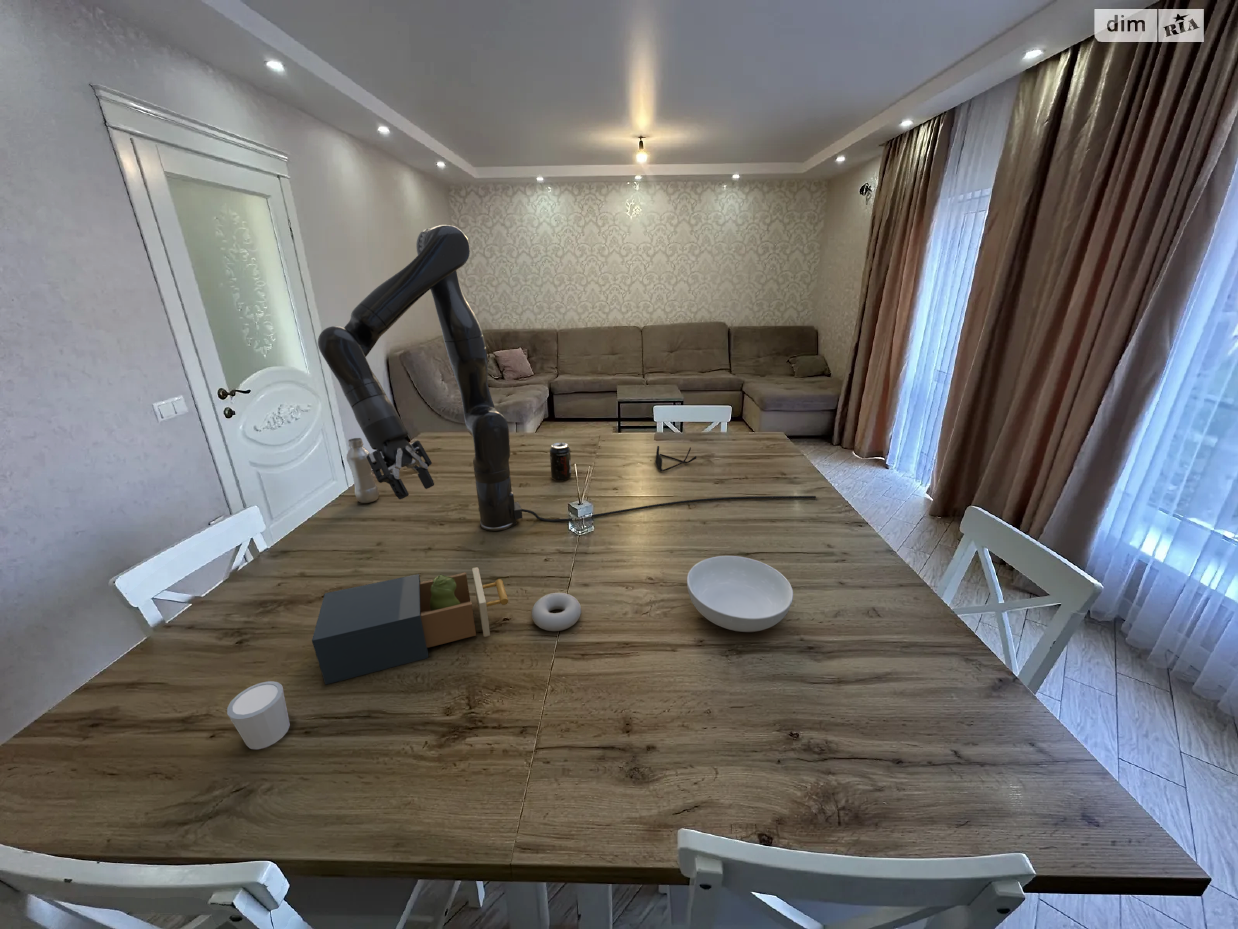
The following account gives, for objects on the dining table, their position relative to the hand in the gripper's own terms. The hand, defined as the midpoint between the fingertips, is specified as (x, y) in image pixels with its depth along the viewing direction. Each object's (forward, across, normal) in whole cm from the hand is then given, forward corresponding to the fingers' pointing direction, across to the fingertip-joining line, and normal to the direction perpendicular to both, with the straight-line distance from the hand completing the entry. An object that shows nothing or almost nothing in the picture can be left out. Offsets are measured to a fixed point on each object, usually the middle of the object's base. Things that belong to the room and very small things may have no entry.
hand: (417, 492), depth 100 cm
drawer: (+27, -7, +1) cm, 28 cm away
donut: (+36, 0, -15) cm, 39 cm away
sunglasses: (+29, +88, -34) cm, 99 cm away
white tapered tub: (+24, -35, +17) cm, 46 cm away
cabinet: (+23, -15, +12) cm, 30 cm away
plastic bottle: (-7, +38, +48) cm, 61 cm away
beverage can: (+14, +67, 0) cm, 68 cm away
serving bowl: (+52, +10, -47) cm, 71 cm away
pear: (+26, -8, +2) cm, 27 cm away
